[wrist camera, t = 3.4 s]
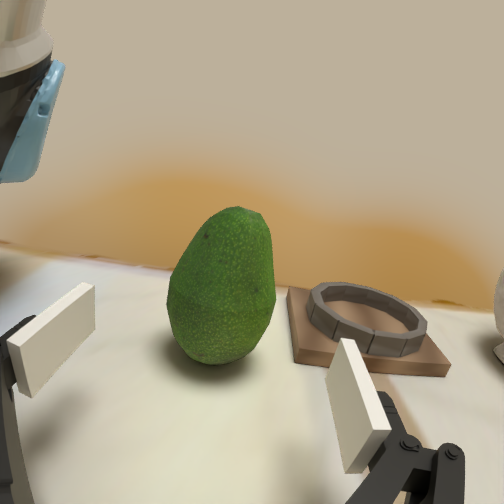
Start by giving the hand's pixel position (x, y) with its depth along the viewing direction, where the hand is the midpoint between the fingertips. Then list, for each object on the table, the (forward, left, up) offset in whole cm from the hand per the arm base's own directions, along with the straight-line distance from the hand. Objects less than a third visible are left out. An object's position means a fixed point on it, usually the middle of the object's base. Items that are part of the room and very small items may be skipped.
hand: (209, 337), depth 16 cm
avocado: (0, +8, -7) cm, 10 cm away
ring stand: (+15, +16, -6) cm, 23 cm away
